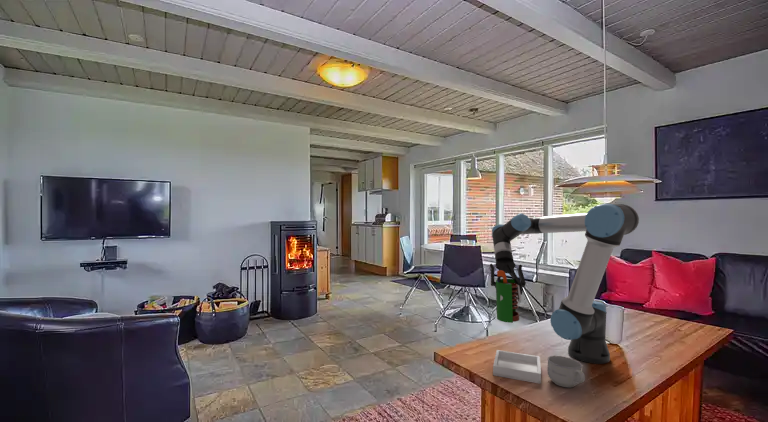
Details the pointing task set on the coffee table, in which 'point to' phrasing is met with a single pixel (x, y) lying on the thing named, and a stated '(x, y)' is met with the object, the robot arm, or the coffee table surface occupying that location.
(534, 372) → the tray
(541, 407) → the coffee table surface
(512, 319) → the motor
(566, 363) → the teacup
